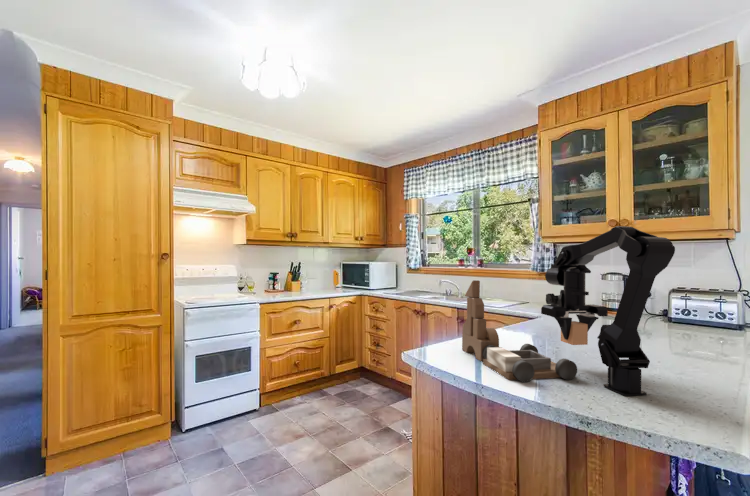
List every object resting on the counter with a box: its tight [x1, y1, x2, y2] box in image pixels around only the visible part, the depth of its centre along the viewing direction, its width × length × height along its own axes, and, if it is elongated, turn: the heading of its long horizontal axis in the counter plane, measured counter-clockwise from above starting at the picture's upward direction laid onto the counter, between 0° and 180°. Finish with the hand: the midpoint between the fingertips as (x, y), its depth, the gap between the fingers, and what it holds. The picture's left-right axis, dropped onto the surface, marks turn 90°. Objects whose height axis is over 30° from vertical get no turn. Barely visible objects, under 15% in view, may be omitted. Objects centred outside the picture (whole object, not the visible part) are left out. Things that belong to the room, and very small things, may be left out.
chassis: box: [482, 343, 578, 383], centre depth 102 cm, size 18×20×6 cm
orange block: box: [560, 320, 589, 346], centre depth 105 cm, size 5×5×6 cm
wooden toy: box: [461, 280, 500, 362], centre depth 118 cm, size 16×7×25 cm, turn 11°
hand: (573, 339), depth 105 cm, fingers closed on orange block, 5 cm apart
